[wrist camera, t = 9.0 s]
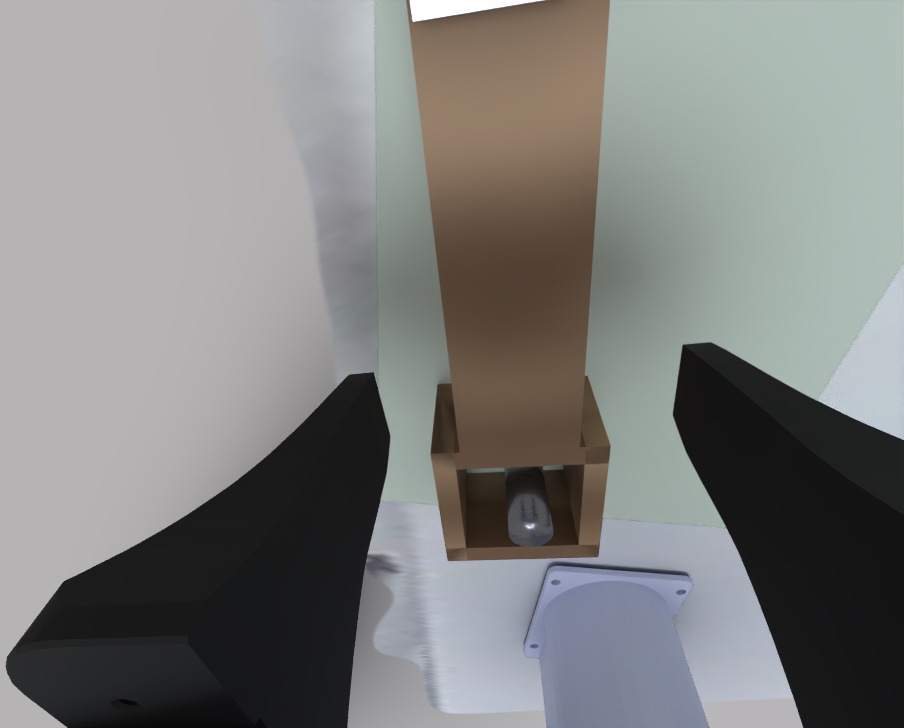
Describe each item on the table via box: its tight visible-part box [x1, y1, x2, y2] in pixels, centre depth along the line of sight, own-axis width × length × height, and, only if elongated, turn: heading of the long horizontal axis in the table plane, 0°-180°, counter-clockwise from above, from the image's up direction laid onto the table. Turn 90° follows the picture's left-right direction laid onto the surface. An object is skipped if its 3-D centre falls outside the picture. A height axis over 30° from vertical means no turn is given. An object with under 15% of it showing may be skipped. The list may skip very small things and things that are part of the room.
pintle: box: [504, 466, 553, 547], centre depth 20 cm, size 2×2×5 cm
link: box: [406, 0, 611, 561], centre depth 16 cm, size 20×6×4 cm, turn 5°
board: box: [375, 0, 904, 528], centre depth 17 cm, size 27×18×1 cm, turn 176°
